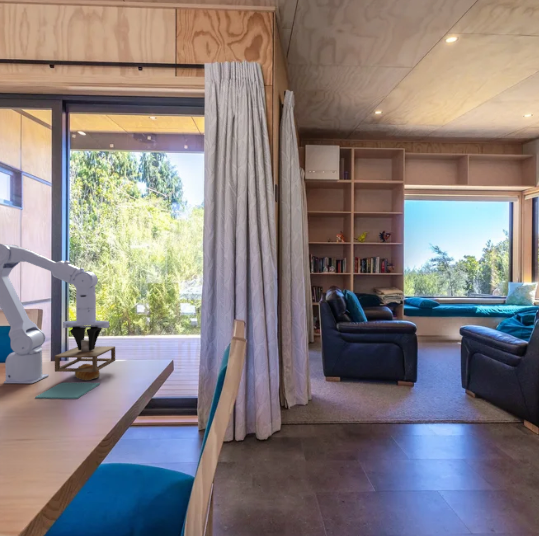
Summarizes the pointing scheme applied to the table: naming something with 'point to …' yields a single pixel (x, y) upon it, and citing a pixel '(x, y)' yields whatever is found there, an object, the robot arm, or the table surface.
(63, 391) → the mat
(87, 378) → the pastry
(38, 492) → the table surface
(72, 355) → the cover
